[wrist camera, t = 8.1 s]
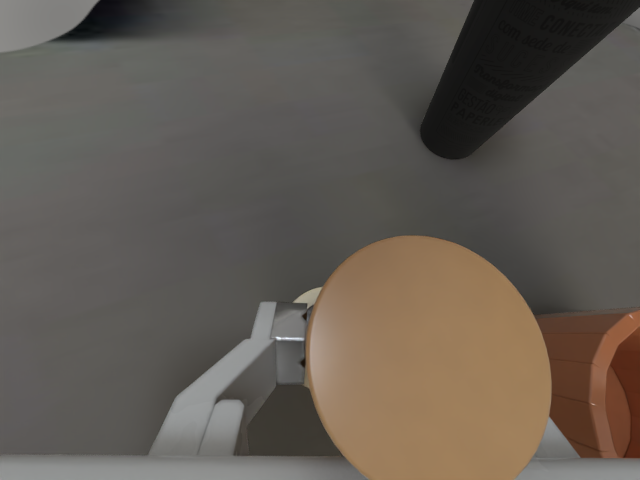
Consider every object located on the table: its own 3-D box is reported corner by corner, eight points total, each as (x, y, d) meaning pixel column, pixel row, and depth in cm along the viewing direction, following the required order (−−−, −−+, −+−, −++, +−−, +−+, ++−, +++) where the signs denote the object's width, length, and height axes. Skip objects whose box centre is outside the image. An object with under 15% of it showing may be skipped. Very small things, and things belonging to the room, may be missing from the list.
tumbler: (660, 423, 16) (908, 486, 9) (557, 531, 14) (776, 705, 8) (547, 290, 18) (682, 266, 12) (445, 367, 17) (539, 390, 10)
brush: (380, 350, 17) (807, 448, 2) (310, 399, 16) (361, 1050, 1) (336, 281, 18) (456, 84, 4) (269, 321, 17) (82, 261, 3)
